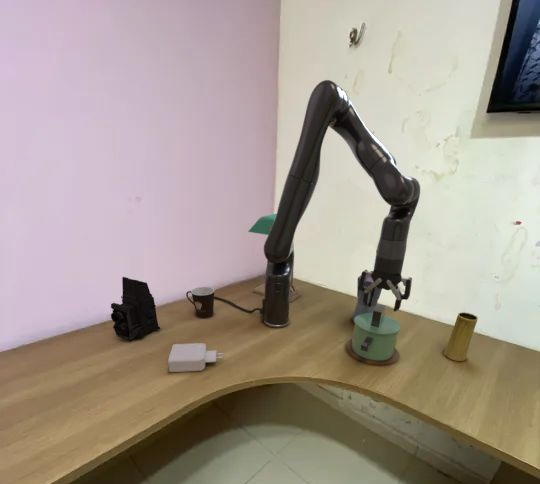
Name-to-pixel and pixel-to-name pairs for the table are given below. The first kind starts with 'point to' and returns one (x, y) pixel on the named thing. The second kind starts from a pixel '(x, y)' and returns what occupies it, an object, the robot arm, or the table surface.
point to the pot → (375, 334)
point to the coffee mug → (203, 301)
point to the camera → (134, 311)
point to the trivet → (368, 361)
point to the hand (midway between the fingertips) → (380, 307)
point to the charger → (190, 357)
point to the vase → (461, 336)
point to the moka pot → (373, 299)
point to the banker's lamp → (264, 227)
